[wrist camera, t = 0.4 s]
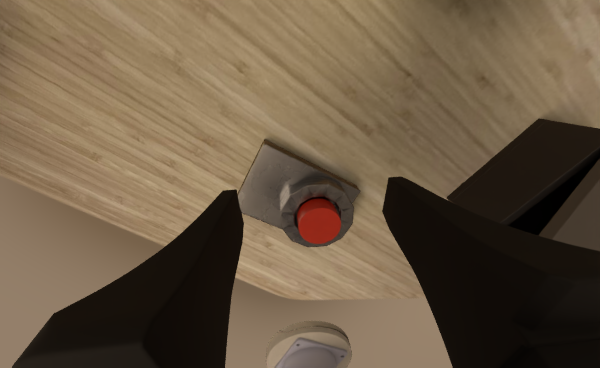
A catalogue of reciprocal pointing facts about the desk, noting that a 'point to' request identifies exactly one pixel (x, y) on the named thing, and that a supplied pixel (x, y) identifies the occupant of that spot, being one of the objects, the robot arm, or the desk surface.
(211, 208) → the robot arm
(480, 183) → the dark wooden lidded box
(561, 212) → the lid
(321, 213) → the button
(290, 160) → the button block
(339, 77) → the desk surface
